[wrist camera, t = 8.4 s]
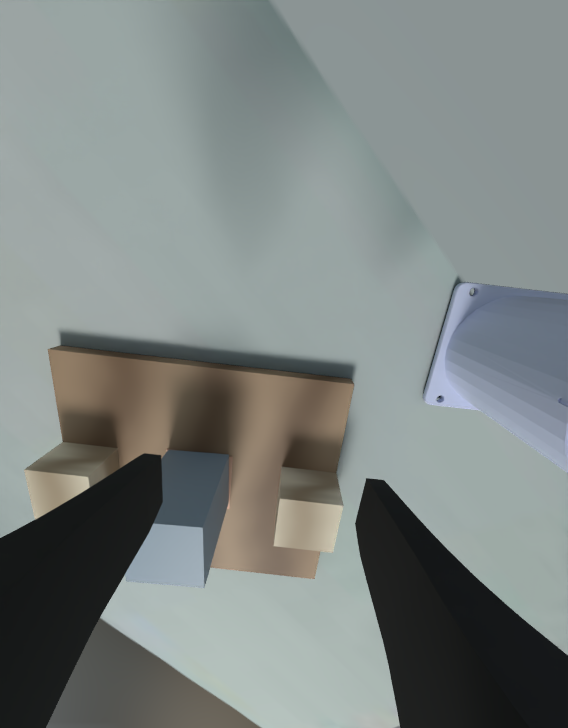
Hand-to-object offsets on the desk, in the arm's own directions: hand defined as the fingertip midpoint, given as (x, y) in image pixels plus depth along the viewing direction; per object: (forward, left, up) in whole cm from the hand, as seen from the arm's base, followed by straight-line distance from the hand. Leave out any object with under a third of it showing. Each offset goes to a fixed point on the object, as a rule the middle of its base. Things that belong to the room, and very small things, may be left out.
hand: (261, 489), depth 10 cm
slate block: (+5, +8, -9) cm, 13 cm away
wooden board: (+5, +8, -10) cm, 14 cm away
